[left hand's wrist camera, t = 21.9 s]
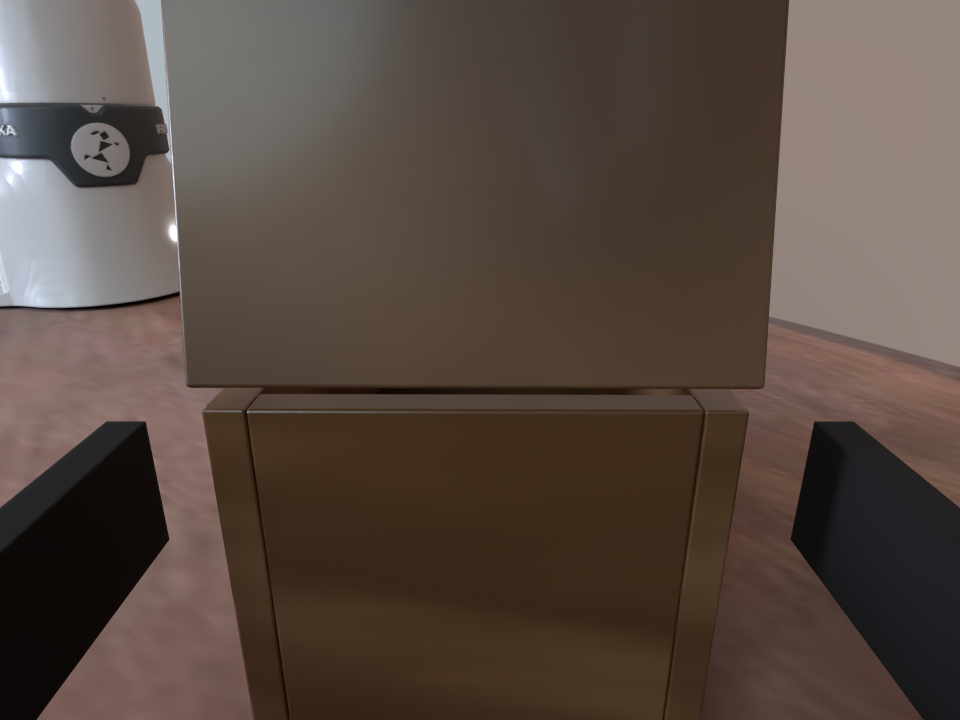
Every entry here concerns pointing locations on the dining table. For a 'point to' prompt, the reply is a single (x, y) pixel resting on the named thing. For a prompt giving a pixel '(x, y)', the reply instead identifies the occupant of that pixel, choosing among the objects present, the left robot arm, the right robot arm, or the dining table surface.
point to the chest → (475, 548)
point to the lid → (475, 191)
